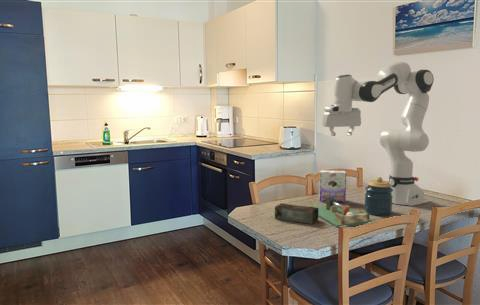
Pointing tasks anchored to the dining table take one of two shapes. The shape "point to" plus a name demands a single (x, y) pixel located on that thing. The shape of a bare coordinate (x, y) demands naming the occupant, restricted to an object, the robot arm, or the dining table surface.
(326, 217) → the pitch
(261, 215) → the dining table surface
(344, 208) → the rod
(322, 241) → the dining table surface
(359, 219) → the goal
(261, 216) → the dining table surface
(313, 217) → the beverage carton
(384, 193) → the canister
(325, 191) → the candy box
